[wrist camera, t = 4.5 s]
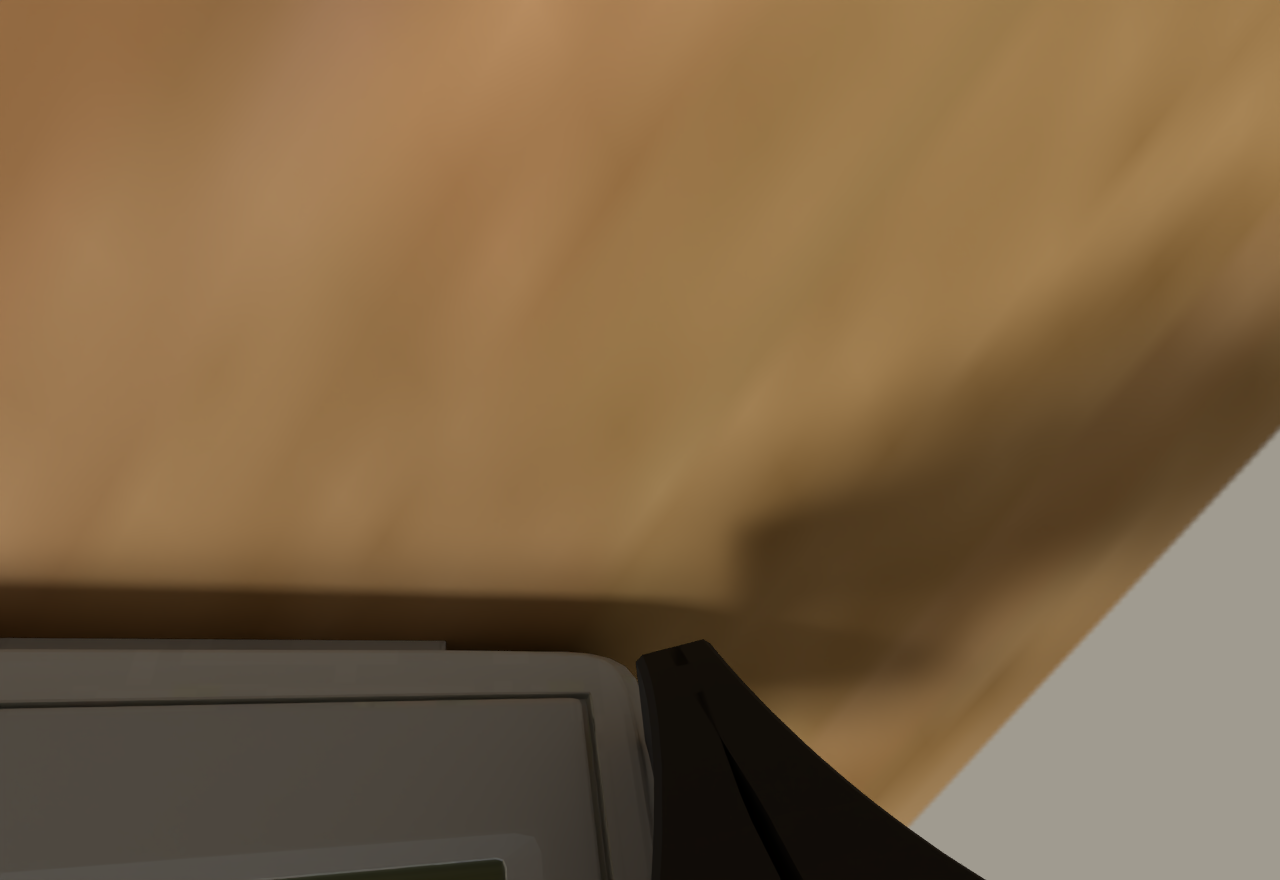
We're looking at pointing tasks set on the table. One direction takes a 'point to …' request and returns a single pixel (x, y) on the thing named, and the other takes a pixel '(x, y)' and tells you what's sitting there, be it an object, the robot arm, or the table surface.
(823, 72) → the table surface
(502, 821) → the digital clock
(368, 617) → the table surface
